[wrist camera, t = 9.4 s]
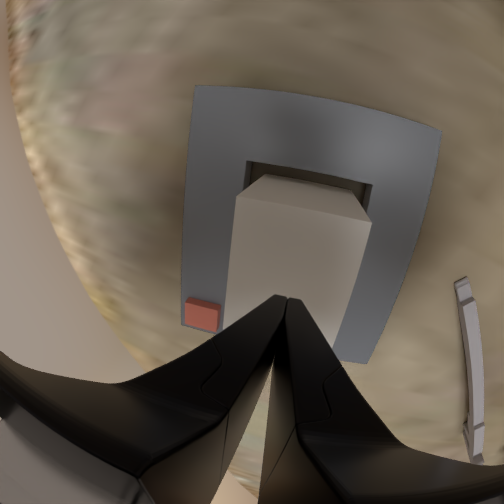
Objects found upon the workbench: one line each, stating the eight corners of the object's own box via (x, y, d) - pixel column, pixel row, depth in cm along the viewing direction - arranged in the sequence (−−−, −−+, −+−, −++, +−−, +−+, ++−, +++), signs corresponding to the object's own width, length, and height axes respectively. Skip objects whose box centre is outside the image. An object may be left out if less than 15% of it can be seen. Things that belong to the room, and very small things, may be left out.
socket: (430, 130, 12) (447, 131, 10) (364, 349, 18) (367, 370, 16) (205, 89, 14) (190, 83, 12) (189, 312, 19) (177, 330, 17)
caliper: (470, 426, 20) (482, 472, 14) (461, 430, 20) (472, 476, 14) (465, 274, 15) (511, 333, 9) (451, 281, 15) (493, 343, 9)
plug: (350, 189, 14) (372, 223, 9) (322, 304, 17) (320, 376, 12) (265, 173, 15) (236, 196, 9) (249, 289, 18) (220, 355, 12)
